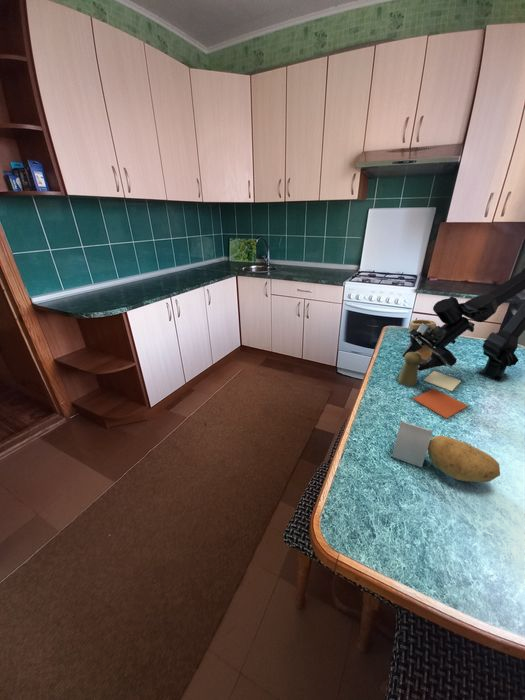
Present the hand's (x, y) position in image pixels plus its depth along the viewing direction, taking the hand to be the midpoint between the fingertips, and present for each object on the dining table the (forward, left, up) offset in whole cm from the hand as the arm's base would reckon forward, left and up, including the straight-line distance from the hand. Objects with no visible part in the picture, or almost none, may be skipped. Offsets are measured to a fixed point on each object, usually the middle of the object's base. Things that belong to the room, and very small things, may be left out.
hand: (410, 362), depth 99 cm
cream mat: (-10, +7, -7) cm, 15 cm away
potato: (+26, +29, -8) cm, 40 cm away
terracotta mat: (+3, +13, -7) cm, 15 cm away
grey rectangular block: (+31, +20, -8) cm, 37 cm away
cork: (0, 0, -8) cm, 8 cm away
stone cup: (-20, -8, -8) cm, 23 cm away
